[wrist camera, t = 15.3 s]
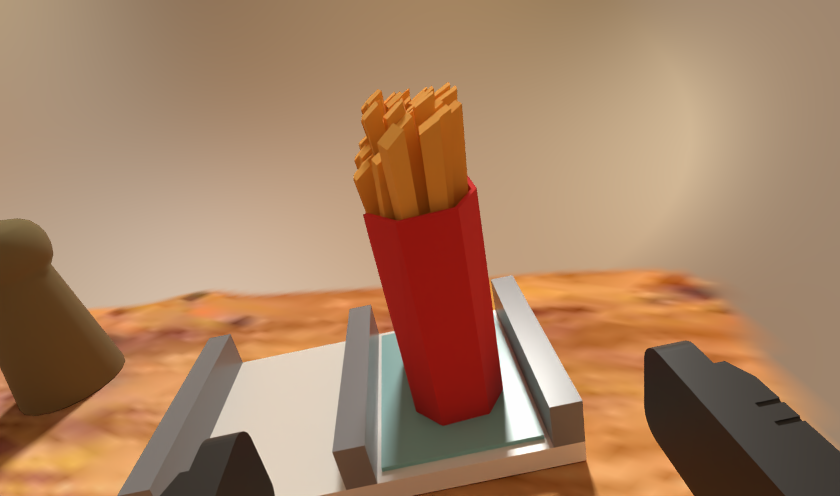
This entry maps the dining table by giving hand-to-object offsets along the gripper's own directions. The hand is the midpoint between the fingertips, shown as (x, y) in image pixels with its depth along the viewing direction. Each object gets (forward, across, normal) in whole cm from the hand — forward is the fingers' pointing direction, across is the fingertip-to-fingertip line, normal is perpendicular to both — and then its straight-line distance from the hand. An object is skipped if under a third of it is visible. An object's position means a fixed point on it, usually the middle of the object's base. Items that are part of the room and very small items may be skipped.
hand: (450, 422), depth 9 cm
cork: (+19, +24, +9) cm, 32 cm away
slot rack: (+11, +4, +9) cm, 14 cm away
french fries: (+11, 0, +8) cm, 13 cm away
